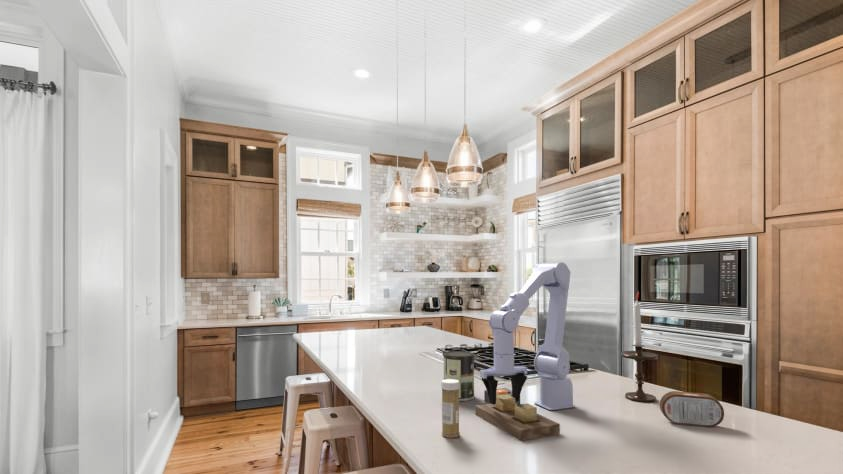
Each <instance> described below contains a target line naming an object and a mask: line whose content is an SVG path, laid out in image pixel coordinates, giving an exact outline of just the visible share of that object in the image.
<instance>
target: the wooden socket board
mask: <svg viewBox="0 0 843 474" xmlns="http://www.w3.org/2000/svg"><path fill="white" fill-rule="evenodd" d="M515 405H518V404H516V403H515ZM474 408H475V409H474V412H475V413H474V414H475V415H476V416H477V417H479V418H481V419H482V418H483V419H482V420H485V422H488V423H489V424H491V425H493V426H495V427H496V428H498V429H500V430H502V432H504V433H506V434H507V435H510V436H511V437H512V438H515V439H517V441H519V442H521V441H527V440H533V439H539V438H540V439H541V438H544V437H545V438H546V437H550V436H556V435H560V434H561V428H560V427H561V425H560V423H559V422H556V421H555V420H552V419H550V418H548V417H546V416H543V415H541V414H539V413H537V422H536V423H529V424H522V423H520V422H518V421H516V420H515V411H512V412H504V413H501V412H499V411H497V410H495V404H492V403H490V404H488V403H485V404H477V405H474Z"/></svg>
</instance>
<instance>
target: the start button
mask: <svg viewBox="0 0 843 474" xmlns="http://www.w3.org/2000/svg"><path fill="white" fill-rule="evenodd" d="M499 389H500V390H496V393H497V394H499V395H502V394H508V391H507V390H502V389H501V388H499Z"/></svg>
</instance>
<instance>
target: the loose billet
mask: <svg viewBox="0 0 843 474" xmlns="http://www.w3.org/2000/svg"><path fill="white" fill-rule="evenodd" d="M495 410H497V411H499V412H501V413H504V412H512V411H515V398H514V397H512V396H510V395H507V394H506V395H498V396H496V404H495Z"/></svg>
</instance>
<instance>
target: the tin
mask: <svg viewBox="0 0 843 474" xmlns="http://www.w3.org/2000/svg"><path fill="white" fill-rule="evenodd" d="M659 409H660V411H661V413H662V414H663V416H664V417H665V418H666V420H668V421H669V422H671V423H673V424H675V425H681V426H682V425H683V426H692V427H693V426H694V427H703V428H715V427H717V426H718V425H720V424H721V423H722V422H723V421H724V418H725V409H724V407H723V405H722V404H721V403H720V401H719V400H718V399H717V398H716V397H714V396H713V395H712V394H708V393H701V392H688V391H679V390H678V391H677V390H676V391H675V390H672V391H668V392H667V393H665V394H663V396H662V397H661V399H660V400H659Z"/></svg>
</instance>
